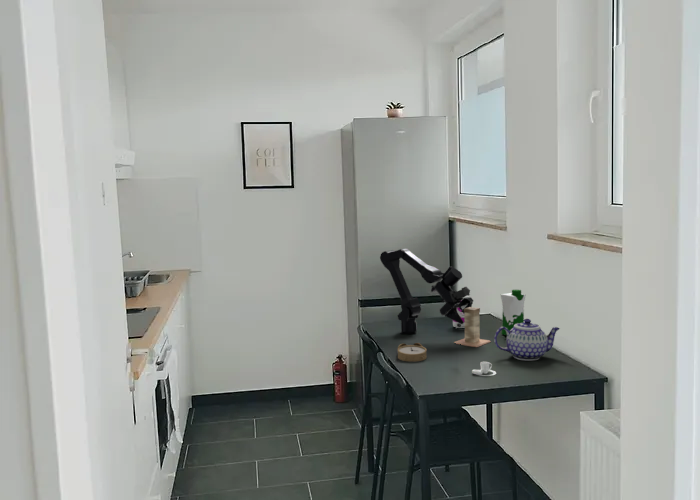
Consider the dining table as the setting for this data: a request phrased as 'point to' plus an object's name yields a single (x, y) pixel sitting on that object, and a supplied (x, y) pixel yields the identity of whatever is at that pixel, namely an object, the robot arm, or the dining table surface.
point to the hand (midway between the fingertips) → (468, 321)
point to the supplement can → (461, 318)
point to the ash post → (472, 324)
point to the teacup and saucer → (484, 369)
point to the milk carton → (512, 309)
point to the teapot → (527, 340)
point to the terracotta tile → (472, 343)
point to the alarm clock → (411, 352)
